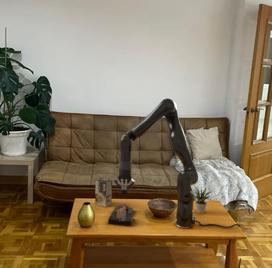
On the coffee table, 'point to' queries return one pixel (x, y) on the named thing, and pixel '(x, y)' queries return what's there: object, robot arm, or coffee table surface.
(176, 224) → the robot arm
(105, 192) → the coffee box
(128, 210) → the button block
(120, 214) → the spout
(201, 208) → the house plant
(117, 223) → the spout base
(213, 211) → the coffee table surface
